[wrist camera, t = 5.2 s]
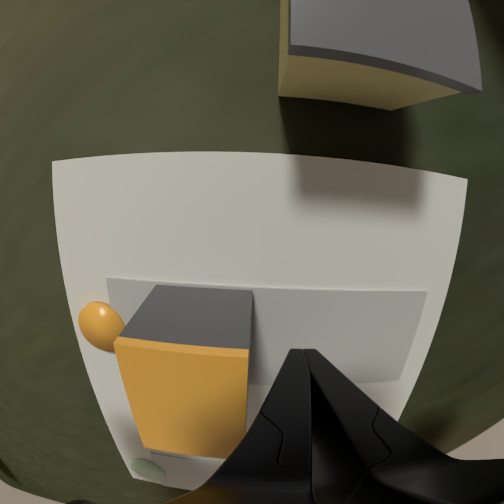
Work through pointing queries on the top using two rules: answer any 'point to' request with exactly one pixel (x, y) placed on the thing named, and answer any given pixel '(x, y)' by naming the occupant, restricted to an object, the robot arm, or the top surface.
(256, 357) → the panel
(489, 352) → the top surface
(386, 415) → the robot arm
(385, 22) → the block
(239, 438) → the tagged toggle
